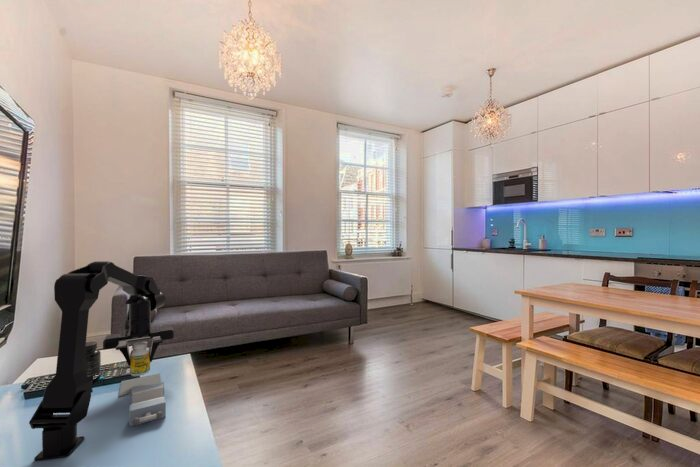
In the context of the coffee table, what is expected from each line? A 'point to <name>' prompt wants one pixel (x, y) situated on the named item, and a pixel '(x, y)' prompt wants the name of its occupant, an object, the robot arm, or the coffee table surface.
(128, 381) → the white flat square
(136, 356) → the supplement bottle
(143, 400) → the vise
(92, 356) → the supplement bottle
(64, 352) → the robot arm
